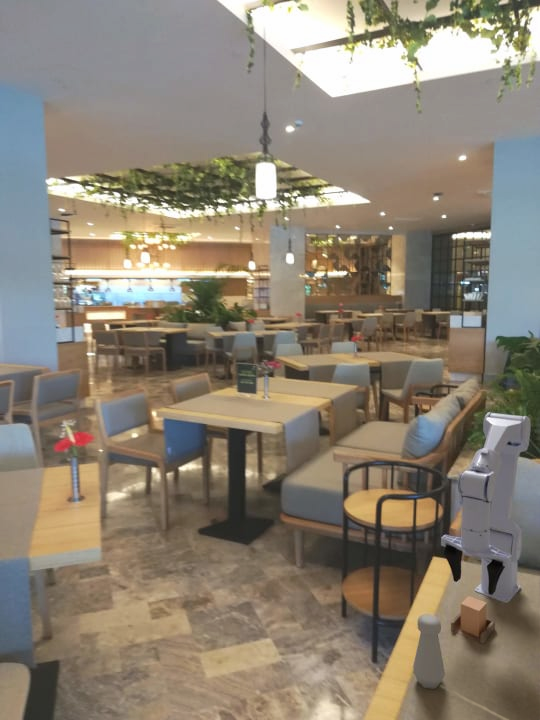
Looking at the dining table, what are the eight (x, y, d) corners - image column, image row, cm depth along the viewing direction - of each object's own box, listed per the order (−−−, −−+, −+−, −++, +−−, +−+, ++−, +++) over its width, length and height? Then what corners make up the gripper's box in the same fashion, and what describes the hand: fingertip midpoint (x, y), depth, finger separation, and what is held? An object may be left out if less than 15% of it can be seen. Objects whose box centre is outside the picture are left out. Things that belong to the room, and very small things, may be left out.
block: (468, 620, 119) (468, 595, 118) (486, 628, 116) (486, 602, 116) (460, 629, 116) (460, 603, 116) (478, 637, 114) (479, 611, 113)
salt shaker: (446, 694, 98) (447, 629, 97) (414, 690, 100) (414, 626, 98) (442, 672, 104) (443, 610, 102) (412, 669, 105) (412, 608, 104)
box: (463, 617, 121) (463, 608, 121) (494, 630, 116) (494, 621, 116) (450, 631, 116) (450, 622, 116) (482, 645, 112) (482, 635, 111)
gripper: (434, 523, 116) (434, 581, 117) (503, 543, 106) (501, 607, 107) (449, 512, 121) (448, 569, 122) (515, 531, 111) (514, 592, 112)
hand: (474, 586), depth 115 cm, fingers open, 7 cm apart
